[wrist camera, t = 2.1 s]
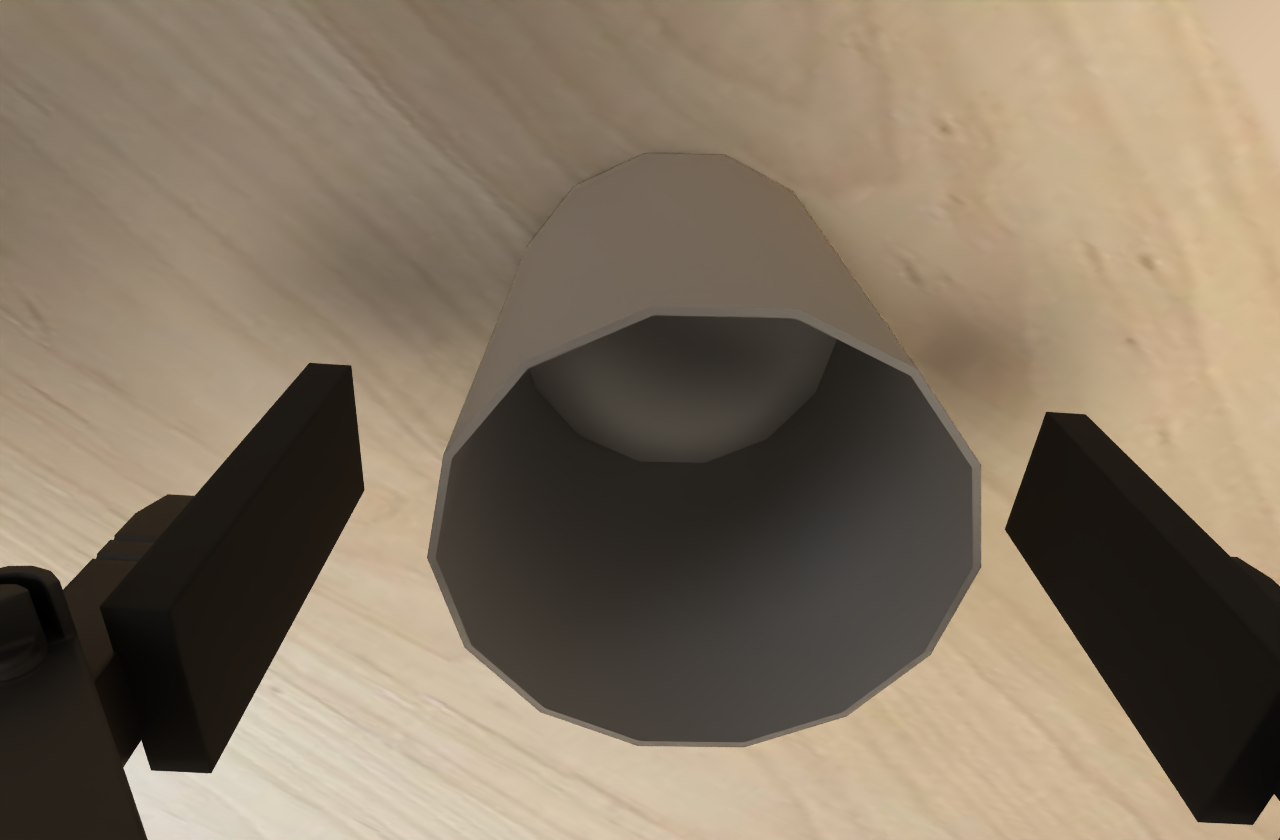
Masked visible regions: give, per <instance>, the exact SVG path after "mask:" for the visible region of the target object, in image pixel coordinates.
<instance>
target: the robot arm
mask: <svg viewBox="0 0 1280 840" xmlns="http://www.w3.org/2000/svg"><path fill="white" fill-rule="evenodd" d="M363 492H364V481H363V472H362V462H361V453H360V443H359V434H358V425H357V415H356V406H355V396H354V387H353V377H352V368H351V366H348V365H333V364H318V363H309V364H308V365H307V366H306V368H305V369H304V370H303V371H302V372H301V373H300V375H299V376H298V377H297V378H296V379H295V380H294V381H293V383H292V384H291V385H290V386H289V387H288V388H287V390H286V391H285V392H284V393H283V394H282V395H281V397H280V398H279V399H278V400H277V401H276V402H275V403H274V405H273V406H272V407H271V408H270V409H269V410H268V412H267V413H266V414H265V415H264V416H263V417H262V419H261V420H260V421H259V422H258V423H257V424H256V426H255V427H254V428H253V429H252V430H251V431H250V432H249V434H248V435H247V436H246V437H245V438H244V439H243V441H242V442H241V443H240V444H239V445H238V446H237V448H236V449H235V450H234V451H233V452H232V453H231V454H230V456H229V457H228V458H227V459H226V460H225V461H224V463H223V464H222V465H221V466H220V467H219V468H218V470H217V471H216V472H215V473H214V474H213V475H212V477H211V478H210V479H209V480H208V481H207V482H206V483H205V485H204V486H203V487H202V488H201V489H200V490H199V492H198V493H197V494H196V495H195V496H186V495H170V494H168V495H166V496H164V497H163V498H161V499H159V500H157V501H156V502H154V503H152V504H151V505H149V506H147V507H145V508H144V509H142V510H140V511H138V512H137V513H135V514H134V515H133V517H132V518H131V519H130V520H129V521H128V522H127V523H126V524H125V525H124V526H123V527H122V528H121V529H120V530H119V531H118V532H117V533H116V535H115V538H114V540H110V541H109V542H108V543H107V544H106V545H105V546H104V547H103V548H102V549H101V550H100V551H99V552H98V554H97V558H96V559H92V560H91V561H90V562H89V563H88V564H87V565H86V566H85V567H84V568H83V569H82V570H81V572H80V573H79V574H78V575H77V576H76V577H75V578H74V579H73V580H72V581H71V582H70V583H69V584H68V585H67V586H66V587H65V588H64V590H62V587H61V584H60V581H59V580H58V579H57V578H56V576H55V575H54V574H53V573H52V572H51V571H49V570H45V569H42V568H38V567H35V566H7V567H2V568H0V840H148V839H147V836H146V834H145V831H144V828H143V825H142V822H141V819H140V816H139V813H138V810H137V807H136V804H135V801H134V798H133V795H132V792H131V789H130V786H129V783H128V780H127V777H126V775H125V772H124V769H123V767H124V765H125V764H126V762H127V761H128V759H129V758H130V756H131V755H132V753H133V752H134V750H135V749H136V747H137V746H138V744H139V743H140V741H141V740H142V743H143V746H144V749H145V753H146V756H147V759H148V762H149V765H150V768H151V770H155V771H175V772H196V773H212V771H213V769H214V767H215V765H216V764H217V762H218V760H219V758H220V756H221V754H222V752H223V751H224V749H225V747H226V745H227V743H228V741H229V740H230V738H231V736H232V734H233V732H234V730H235V728H236V727H237V725H238V723H239V721H240V719H241V717H242V716H243V714H244V712H245V710H246V708H247V706H248V704H249V703H250V701H251V699H252V697H253V695H254V693H255V691H256V690H257V688H258V686H259V684H260V682H261V680H262V679H263V677H264V675H265V673H266V671H267V669H268V667H269V666H270V664H271V662H272V660H273V658H274V656H275V655H276V653H277V651H278V649H279V647H280V645H281V643H282V642H283V640H284V638H285V636H286V634H287V632H288V630H289V629H290V627H291V625H292V623H293V621H294V619H295V618H296V616H297V614H298V612H299V610H300V608H301V606H302V605H303V603H304V601H305V599H306V597H307V595H308V593H309V592H310V590H311V588H312V586H313V584H314V582H315V581H316V579H317V577H318V575H319V573H320V571H321V569H322V568H323V566H324V564H325V562H326V560H327V558H328V557H329V555H330V553H331V551H332V549H333V547H334V545H335V544H336V542H337V540H338V538H339V536H340V534H341V532H342V531H343V529H344V527H345V525H346V523H347V521H348V520H349V518H350V516H351V514H352V512H353V510H354V508H355V507H356V505H357V503H358V501H359V499H360V497H361V495H362V494H363ZM1005 530H1006V532H1007V534H1008V535H1009V537H1010V538H1011V540H1012V541H1013V543H1014V544H1015V546H1016V547H1017V549H1018V550H1019V552H1020V553H1021V555H1022V556H1023V558H1024V559H1025V561H1026V562H1027V564H1028V565H1029V567H1030V568H1031V570H1032V571H1033V573H1034V574H1035V576H1036V577H1037V579H1038V580H1039V582H1040V584H1041V585H1042V587H1043V588H1044V590H1045V591H1046V593H1047V594H1048V596H1049V597H1050V599H1051V600H1052V602H1053V603H1054V605H1055V606H1056V608H1057V609H1058V611H1059V612H1060V614H1061V615H1062V617H1063V618H1064V620H1065V621H1066V623H1067V624H1068V626H1069V627H1070V629H1071V630H1072V632H1073V634H1074V635H1075V637H1076V638H1077V640H1078V641H1079V643H1080V644H1081V646H1082V647H1083V649H1084V650H1085V652H1086V653H1087V655H1088V656H1089V658H1090V659H1091V661H1092V662H1093V664H1094V665H1095V667H1096V668H1097V670H1098V671H1099V673H1100V674H1101V676H1102V677H1103V679H1104V680H1105V682H1106V684H1107V685H1108V687H1109V688H1110V690H1111V691H1112V693H1113V694H1114V696H1115V697H1116V699H1117V700H1118V702H1119V703H1120V705H1121V706H1122V708H1123V709H1124V711H1125V712H1126V714H1127V715H1128V717H1129V718H1130V720H1131V721H1132V723H1133V724H1134V726H1135V727H1136V729H1137V731H1138V732H1139V734H1140V735H1141V737H1142V738H1143V740H1144V741H1145V743H1146V744H1147V746H1148V747H1149V749H1150V750H1151V752H1152V753H1153V755H1154V756H1155V758H1156V759H1157V761H1158V762H1159V764H1160V765H1161V767H1162V768H1163V770H1164V771H1165V773H1166V774H1167V776H1168V777H1169V779H1170V781H1171V782H1172V784H1173V785H1174V787H1175V788H1176V790H1177V791H1178V793H1179V794H1180V796H1181V797H1182V799H1183V800H1184V802H1185V803H1186V805H1187V806H1188V808H1189V809H1190V811H1191V812H1192V814H1193V815H1194V817H1195V818H1196V820H1197V821H1198V822H1206V823H1227V824H1247V825H1253V824H1254V823H1255V821H1256V820H1257V818H1258V817H1259V815H1260V814H1261V812H1262V811H1263V809H1264V808H1265V806H1266V805H1267V803H1268V802H1269V800H1270V799H1271V797H1272V796H1273V795H1274V794H1275V795H1276V797H1277V798H1278V799H1279V801H1280V586H1279V585H1278V584H1277V583H1276V582H1275V581H1274V580H1272V579H1271V578H1270V577H1268V576H1266V575H1265V574H1263V573H1262V572H1260V571H1258V570H1257V569H1255V568H1254V567H1252V566H1250V565H1249V564H1247V563H1246V562H1244V561H1243V560H1241V559H1239V558H1238V557H1230V556H1229V555H1228V554H1227V553H1226V552H1225V551H1224V550H1223V549H1222V548H1221V547H1220V546H1219V545H1218V544H1217V543H1216V542H1215V541H1214V540H1213V539H1212V538H1211V537H1210V536H1209V535H1208V534H1207V533H1206V532H1205V531H1204V530H1203V529H1202V528H1201V527H1200V526H1199V525H1198V524H1197V523H1196V522H1195V521H1194V520H1193V519H1192V518H1190V517H1189V516H1188V515H1187V514H1186V513H1185V512H1184V511H1183V510H1182V509H1181V508H1180V507H1179V506H1178V505H1177V504H1176V503H1175V502H1174V501H1173V500H1172V499H1171V498H1170V497H1169V496H1168V495H1167V494H1166V493H1165V492H1164V491H1163V490H1162V489H1161V488H1160V487H1159V486H1158V485H1157V484H1156V483H1155V482H1154V481H1153V480H1152V479H1151V478H1150V477H1149V476H1148V475H1147V474H1146V473H1145V472H1144V471H1143V470H1142V469H1141V468H1140V467H1139V466H1138V465H1136V464H1135V463H1134V462H1133V461H1132V460H1131V459H1130V458H1129V457H1128V456H1127V455H1126V454H1125V453H1124V452H1123V451H1122V450H1121V449H1120V448H1119V447H1118V446H1117V445H1116V444H1115V443H1114V442H1113V441H1112V440H1111V439H1110V438H1109V437H1108V436H1107V435H1106V434H1105V433H1104V432H1103V431H1102V430H1101V429H1100V428H1099V427H1098V426H1097V425H1096V424H1095V423H1094V422H1093V421H1092V420H1091V419H1090V418H1089V417H1088V416H1087V415H1085V414H1070V413H1055V412H1046V414H1045V417H1044V420H1043V423H1042V425H1041V428H1040V431H1039V434H1038V437H1037V440H1036V442H1035V445H1034V448H1033V451H1032V454H1031V457H1030V459H1029V462H1028V465H1027V468H1026V471H1025V474H1024V476H1023V479H1022V482H1021V485H1020V488H1019V491H1018V493H1017V496H1016V499H1015V502H1014V505H1013V508H1012V511H1011V513H1010V516H1009V519H1008V522H1007V525H1006V528H1005ZM1278 840H1280V838H1279V839H1278Z"/></svg>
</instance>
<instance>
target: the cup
mask: <svg viewBox="0 0 1280 840" xmlns="http://www.w3.org/2000/svg"><path fill="white" fill-rule="evenodd" d="M427 558H428V561H429V563H430V566H431V568H432V570H433V573H434V575H435V578H436V580H437V582H438V585H439V587H440V590H441V592H442V594H443V597H444V599H445V602H446V604H447V606H448V609H449V611H450V614H451V616H452V618H453V621H454V623H455V626H456V628H457V630H458V633H459V635H460V638H461V640H462V642H463V645H464V647H465V648H466V649H467V650H468V651H469V652H470V653H472V654H473V655H474V656H475V657H476V658H477V659H479V660H480V661H481V662H482V663H483V664H485V665H486V666H487V667H488V668H489V669H490V670H492V671H493V672H494V673H495V674H496V675H497V676H499V677H500V678H501V679H502V680H503V681H504V682H506V683H507V684H508V685H509V686H510V687H511V688H513V689H514V690H515V691H516V692H517V693H518V694H520V695H521V696H522V697H523V698H524V699H525V700H527V701H528V702H529V703H530V704H531V705H533V706H534V707H535V708H536V709H537V710H538V711H540V712H542V713H544V714H547V715H550V716H553V717H556V718H559V719H562V720H565V721H568V722H570V723H573V724H576V725H579V726H582V727H585V728H588V729H591V730H594V731H596V732H599V733H602V734H605V735H608V736H611V737H614V738H617V739H620V740H622V741H625V742H628V743H631V744H634V745H637V746H687V747H747V746H750V745H753V744H757V743H760V742H763V741H767V740H770V739H773V738H776V737H780V736H783V735H786V734H790V733H793V732H796V731H800V730H803V729H806V728H810V727H813V726H816V725H819V724H823V723H826V722H829V721H833V720H836V719H839V718H843V717H846V716H847V715H849V714H850V713H852V712H853V711H854V710H856V709H857V708H858V707H860V706H861V705H862V704H864V703H865V702H867V701H868V700H869V699H871V698H872V697H873V696H875V695H876V694H877V693H879V692H880V691H882V690H883V689H884V688H886V687H887V686H888V685H890V684H891V683H893V682H894V681H895V680H897V679H898V678H899V677H901V676H902V675H903V674H905V673H906V672H908V671H909V670H910V669H912V668H913V667H914V666H916V665H917V664H918V663H920V662H921V661H923V660H924V659H925V658H927V657H928V656H929V655H931V653H932V651H933V649H934V648H935V646H936V644H937V643H938V641H939V639H940V637H941V636H942V634H943V632H944V630H945V629H946V627H947V625H948V623H949V622H950V620H951V618H952V617H953V615H954V613H955V611H956V610H957V608H958V606H959V604H960V603H961V601H962V599H963V597H964V596H965V594H966V592H967V590H968V589H969V587H970V585H971V584H972V582H973V580H974V578H975V577H976V575H977V573H978V571H979V570H980V568H981V464H980V463H979V461H978V460H977V458H976V457H975V455H974V454H973V452H972V451H971V449H970V448H969V446H968V444H967V443H966V441H965V440H964V438H963V437H962V435H961V434H960V432H959V431H958V429H957V428H956V426H955V425H954V423H953V422H952V420H951V419H950V417H949V416H948V414H947V413H946V411H945V410H944V408H943V406H942V405H941V403H940V402H939V400H938V399H937V397H936V396H935V394H934V393H933V391H932V390H931V388H930V387H929V385H928V384H927V382H926V381H925V379H924V378H923V376H922V375H921V373H920V372H919V370H918V369H917V367H916V366H915V364H914V363H913V361H912V360H911V359H910V357H909V356H908V354H907V353H906V351H905V350H904V349H903V347H902V346H901V344H900V343H899V342H898V340H897V339H896V337H895V336H894V334H893V333H892V332H891V330H890V329H889V327H888V326H887V324H886V323H885V322H884V320H883V319H882V317H881V316H880V314H879V313H878V312H877V310H876V309H875V307H874V306H873V305H872V303H871V302H870V300H869V299H868V297H867V296H866V295H865V293H864V292H863V290H862V289H861V287H860V286H859V285H858V283H857V282H856V280H855V279H854V277H853V276H852V275H851V273H850V272H849V270H848V269H847V268H846V266H845V265H844V263H843V262H842V260H841V259H840V258H839V256H838V255H837V253H836V252H835V250H834V249H833V248H832V246H831V245H830V243H829V242H828V241H827V239H826V238H825V236H824V235H823V233H822V232H821V231H820V229H819V228H818V226H817V225H816V223H815V222H814V221H813V219H812V218H811V216H810V215H809V213H808V212H807V211H806V209H805V208H804V206H803V205H802V204H801V202H800V201H799V199H798V198H797V196H796V195H795V194H794V192H793V191H791V190H789V189H788V188H786V187H784V186H782V185H780V184H778V183H777V182H775V181H773V180H771V179H769V178H767V177H765V176H764V175H762V174H760V173H758V172H756V171H754V170H752V169H751V168H749V167H747V166H745V165H743V164H741V163H740V162H738V161H736V160H734V159H732V158H730V157H728V156H727V155H713V154H670V153H644V154H642V155H640V156H638V157H636V158H634V159H632V160H629V161H627V162H625V163H623V164H621V165H619V166H617V167H614V168H612V169H610V170H608V171H606V172H604V173H602V174H600V175H597V176H595V177H593V178H591V179H589V180H587V181H585V182H582V183H580V184H578V185H576V186H574V187H573V188H572V190H571V191H570V192H569V194H568V195H567V196H566V197H565V199H564V200H563V201H562V202H561V204H560V205H559V206H558V208H557V209H556V210H555V211H554V213H553V214H552V215H551V216H550V218H549V219H548V220H547V222H546V223H545V224H544V225H543V227H542V228H541V229H540V230H539V232H538V233H537V234H536V236H535V237H534V238H533V239H532V241H531V242H530V243H529V245H528V246H527V249H526V251H525V254H524V256H523V259H522V261H521V264H520V266H519V269H518V271H517V274H516V276H515V279H514V281H513V283H512V286H511V288H510V291H509V293H508V296H507V298H506V301H505V303H504V306H503V308H502V311H501V313H500V316H499V318H498V321H497V323H496V326H495V328H494V331H493V333H492V336H491V338H490V341H489V343H488V346H487V348H486V351H485V353H484V356H483V358H482V360H481V363H480V365H479V368H478V370H477V373H476V375H475V378H474V380H473V383H472V385H471V388H470V390H469V393H468V395H467V398H466V400H465V403H464V405H463V408H462V410H461V413H460V415H459V418H458V420H457V423H456V425H455V428H454V430H453V433H452V435H451V437H450V440H449V442H448V445H447V447H446V450H445V452H444V455H443V461H442V467H441V474H440V480H439V486H438V493H437V499H436V505H435V512H434V518H433V524H432V530H431V537H430V543H429V549H428V556H427Z"/></svg>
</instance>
